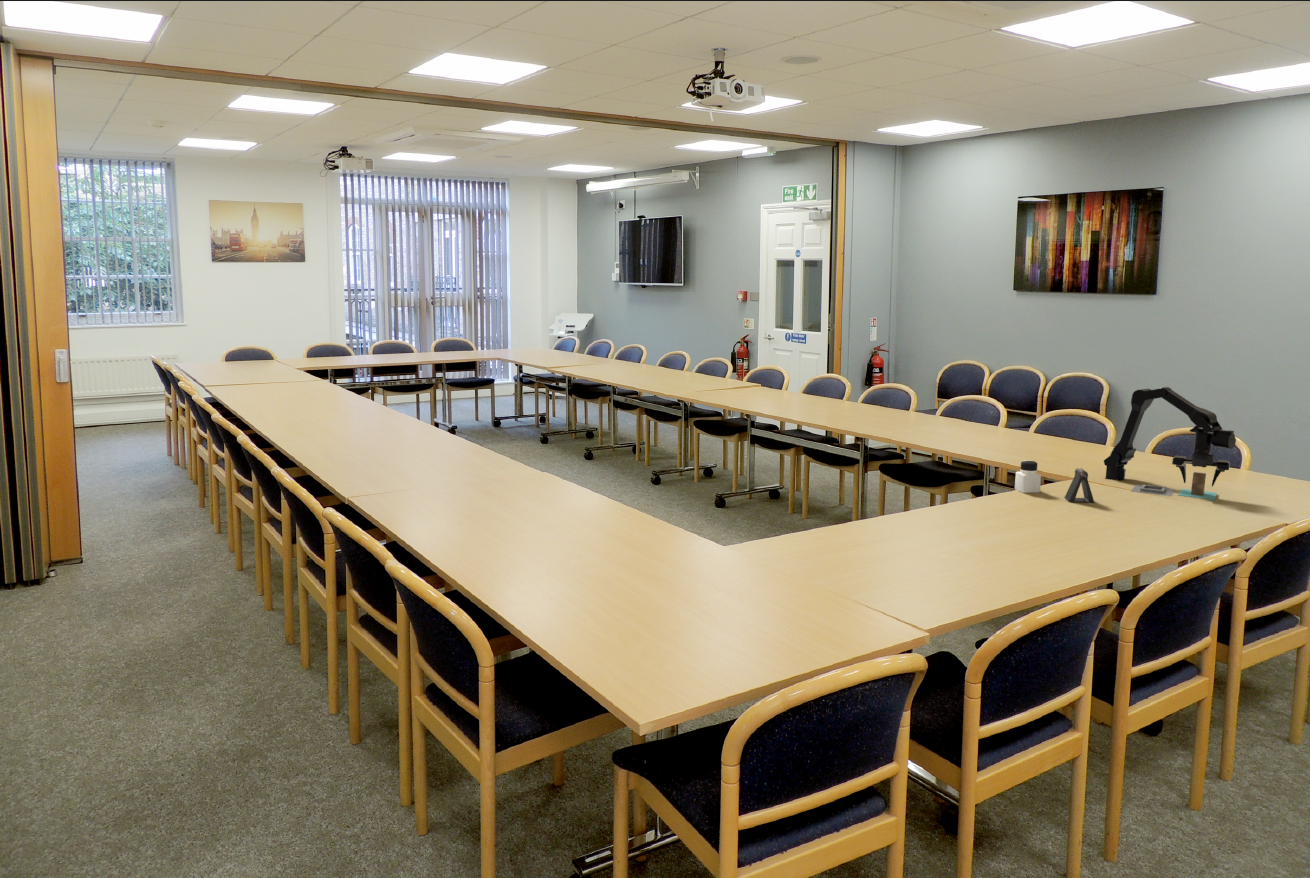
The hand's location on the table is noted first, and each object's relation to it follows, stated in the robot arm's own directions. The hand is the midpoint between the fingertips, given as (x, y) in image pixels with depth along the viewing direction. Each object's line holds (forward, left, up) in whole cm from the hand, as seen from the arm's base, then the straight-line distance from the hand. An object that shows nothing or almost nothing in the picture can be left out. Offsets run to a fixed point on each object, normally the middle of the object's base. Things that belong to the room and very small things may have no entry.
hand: (1198, 484), depth 351 cm
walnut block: (0, 0, -4) cm, 4 cm away
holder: (-15, -2, -4) cm, 16 cm away
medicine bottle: (-56, -28, -5) cm, 63 cm away
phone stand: (-36, -33, -5) cm, 49 cm away
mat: (0, 0, -4) cm, 4 cm away
